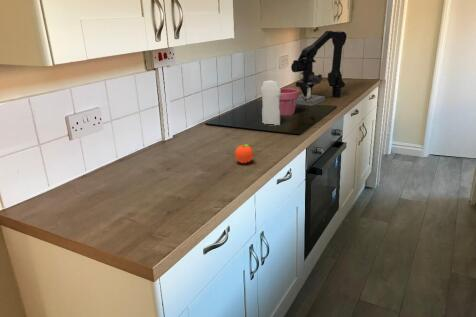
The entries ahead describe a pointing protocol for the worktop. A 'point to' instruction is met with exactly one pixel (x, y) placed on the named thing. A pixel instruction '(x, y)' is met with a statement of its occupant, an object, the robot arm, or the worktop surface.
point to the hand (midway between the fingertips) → (307, 96)
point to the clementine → (244, 153)
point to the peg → (308, 93)
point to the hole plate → (310, 100)
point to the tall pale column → (270, 102)
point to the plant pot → (288, 101)
